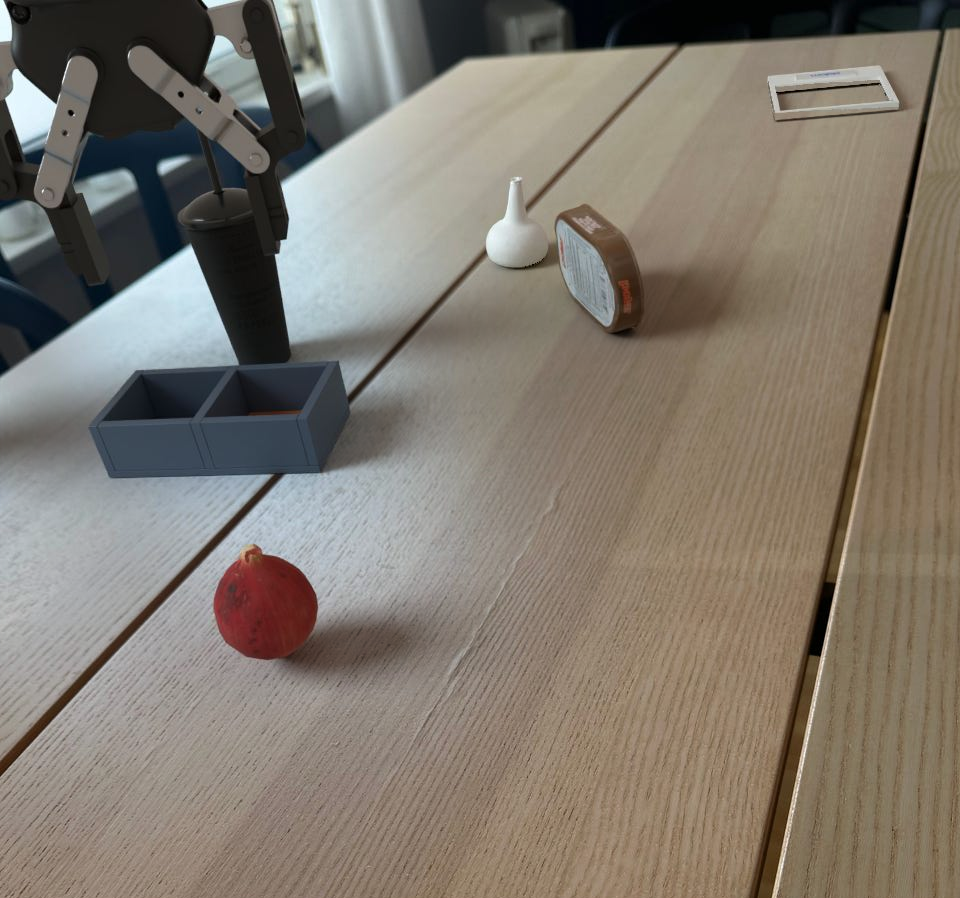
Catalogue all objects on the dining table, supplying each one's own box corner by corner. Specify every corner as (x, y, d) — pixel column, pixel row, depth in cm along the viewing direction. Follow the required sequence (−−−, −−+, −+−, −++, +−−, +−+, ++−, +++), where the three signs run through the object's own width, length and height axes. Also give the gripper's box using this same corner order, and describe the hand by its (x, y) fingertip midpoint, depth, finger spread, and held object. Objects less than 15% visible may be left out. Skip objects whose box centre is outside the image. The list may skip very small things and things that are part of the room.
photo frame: (880, 63, 137) (899, 100, 124) (878, 72, 138) (898, 110, 125) (767, 74, 140) (775, 111, 127) (767, 83, 141) (774, 120, 127)
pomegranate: (273, 703, 58) (234, 594, 53) (215, 663, 61) (172, 557, 56) (348, 647, 61) (318, 538, 56) (289, 612, 64) (255, 506, 59)
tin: (648, 341, 86) (646, 242, 81) (613, 350, 86) (609, 251, 80) (584, 281, 97) (579, 190, 92) (553, 289, 97) (546, 198, 92)
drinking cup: (283, 381, 89) (217, 137, 76) (209, 377, 92) (132, 141, 79) (320, 342, 94) (264, 108, 81) (249, 339, 97) (183, 112, 84)
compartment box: (109, 478, 80) (87, 426, 77) (154, 419, 87) (135, 369, 84) (321, 472, 77) (306, 418, 74) (350, 412, 83) (338, 360, 80)
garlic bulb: (494, 249, 107) (485, 169, 101) (553, 246, 105) (547, 165, 100) (482, 273, 102) (472, 191, 97) (544, 271, 101) (537, 187, 95)
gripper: (243, -189, 42) (331, 216, 52) (-100, -132, 42) (57, 261, 52) (228, -185, 36) (330, 269, 46) (-169, -118, 36) (23, 320, 46)
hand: (186, 264), depth 49 cm, fingers open, 8 cm apart
